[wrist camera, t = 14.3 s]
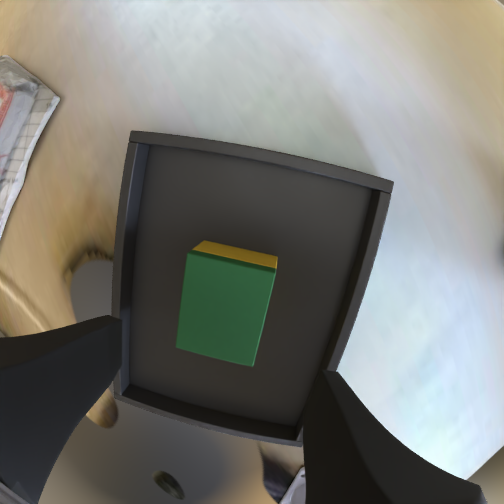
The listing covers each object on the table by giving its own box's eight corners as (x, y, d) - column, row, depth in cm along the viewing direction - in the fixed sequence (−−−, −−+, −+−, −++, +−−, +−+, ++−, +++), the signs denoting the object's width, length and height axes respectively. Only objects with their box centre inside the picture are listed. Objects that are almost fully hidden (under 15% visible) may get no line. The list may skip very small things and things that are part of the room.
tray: (301, 428, 19) (301, 447, 17) (125, 382, 20) (114, 398, 18) (382, 181, 15) (394, 181, 13) (146, 134, 16) (130, 130, 14)
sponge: (258, 338, 17) (253, 367, 15) (191, 322, 18) (175, 347, 15) (277, 256, 16) (276, 273, 13) (203, 239, 16) (186, 252, 14)
